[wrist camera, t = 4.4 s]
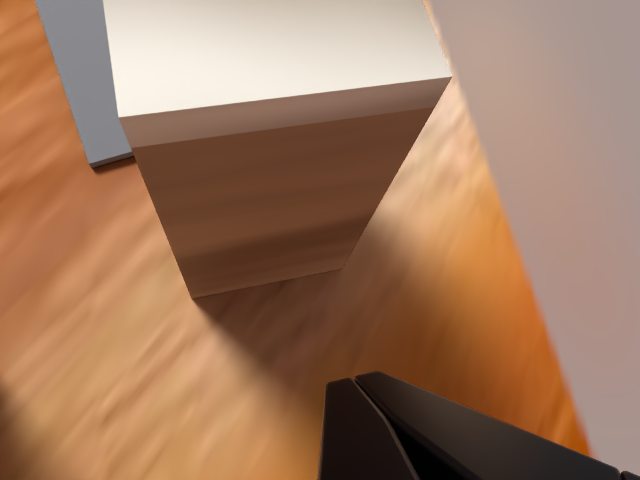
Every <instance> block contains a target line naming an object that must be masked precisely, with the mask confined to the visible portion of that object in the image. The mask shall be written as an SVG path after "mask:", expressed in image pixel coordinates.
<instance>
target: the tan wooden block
mask: <svg viewBox="0 0 640 480" xmlns="http://www.w3.org/2000/svg"><path fill="white" fill-rule="evenodd" d="M103 5H104V13H105V20H106V28H107V35H108V43H109V50H110V58H111V65H112V73H113V80H114V88H115V95H116V103H117V110H118V117H119V120H120V122H121V125H122V127H123V130H124V132H125V135H126V137H127V140H128V142H129V145H130V147H131V150H132V152H133V155H134V157H135V160H136V162H137V164H138V167H139V169H140V172H141V174H142V177H143V179H144V182H145V184H146V187H147V189H148V192H149V194H150V197H151V199H152V202H153V204H154V207H155V209H156V212H157V214H158V216H159V219H160V221H161V224H162V226H163V229H164V231H165V234H166V236H167V239H168V241H169V244H170V246H171V249H172V251H173V254H174V256H175V259H176V261H177V264H178V266H179V269H180V271H181V273H182V276H183V278H184V281H185V283H186V286H187V288H188V291H189V293H190V296H191V298H192V299H193V298H198V297H203V296H208V295H213V294H218V293H223V292H228V291H233V290H238V289H243V288H248V287H254V286H259V285H264V284H269V283H274V282H279V281H284V280H289V279H294V278H299V277H304V276H309V275H314V274H319V273H324V272H329V271H334V270H339V269H342V267H343V266H344V264H345V262H346V260H347V259H348V257H349V255H350V253H351V252H352V250H353V248H354V247H355V245H356V243H357V241H358V240H359V238H360V236H361V234H362V233H363V231H364V229H365V227H366V226H367V224H368V222H369V220H370V219H371V217H372V215H373V214H374V212H375V210H376V208H377V207H378V205H379V203H380V201H381V200H382V198H383V196H384V194H385V193H386V191H387V189H388V188H389V186H390V184H391V182H392V181H393V179H394V177H395V175H396V174H397V172H398V170H399V168H400V167H401V165H402V163H403V161H404V160H405V158H406V156H407V155H408V153H409V151H410V149H411V148H412V146H413V144H414V142H415V141H416V139H417V137H418V135H419V134H420V132H421V130H422V129H423V127H424V125H425V123H426V122H427V120H428V118H429V116H430V115H431V113H432V111H433V109H434V108H435V106H436V104H437V102H438V101H439V99H440V97H441V96H442V94H443V92H444V90H445V89H446V87H447V85H448V83H449V82H450V80H451V78H452V74H451V71H450V69H449V66H448V64H447V61H446V59H445V56H444V54H443V51H442V48H441V46H440V43H439V41H438V38H437V36H436V33H435V31H434V28H433V26H432V23H431V20H430V18H429V15H428V13H427V10H426V8H425V5H424V3H423V0H103Z"/></svg>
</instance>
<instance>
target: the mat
mask: <svg viewBox="0 0 640 480" xmlns="http://www.w3.org/2000/svg"><path fill="white" fill-rule="evenodd" d="M35 2H36V5H37V8H38V11H39V14H40V17H41V20H42V23H43V27H44V30H45V33H46V36H47V39H48V42H49V45H50V48H51V51H52V54H53V57H54V60H55V63H56V66H57V69H58V72H59V75H60V78H61V81H62V84H63V87H64V90H65V93H66V96H67V99H68V102H69V105H70V108H71V111H72V114H73V117H74V120H75V123H76V126H77V129H78V132H79V135H80V138H81V141H82V144H83V147H84V150H85V153H86V156H87V159H88V162H89V165H90V166H91V168H94V167H97V166H100V165H104V164H107V163H111V162H114V161H118V160H121V159H124V158H128V157H131V156H134V155H133V152H132V150H131V147H130V145H129V142H128V140H127V137H126V135H125V132H124V130H123V127H122V125H121V122H120V120H119V117H118V110H117V103H116V95H115V88H114V80H113V73H112V65H111V58H110V50H109V43H108V35H107V28H106V20H105V13H104V5H103V0H35Z"/></svg>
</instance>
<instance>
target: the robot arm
mask: <svg viewBox="0 0 640 480" xmlns="http://www.w3.org/2000/svg"><path fill="white" fill-rule="evenodd" d="M317 480H640V476H637V475H635V474H633V473H630V472H628V471H623V472H621V474H620V472H619V471H618V469H617V468H615V467H613V466H610V465H608V464H605V463H603V462H600V461H598V460H596V459H593V458H591V457H588V456H586V455H583V454H581V453H579V452H576V451H574V450H571V449H569V448H566V447H564V446H561V445H559V444H557V443H554V442H552V441H549V440H547V439H544V438H542V437H540V436H537V435H535V434H532V433H530V432H527V431H525V430H523V429H520V428H518V427H515V426H513V425H510V424H508V423H505V422H503V421H501V420H498V419H496V418H493V417H491V416H488V415H486V414H484V413H481V412H479V411H476V410H474V409H471V408H469V407H467V406H464V405H462V404H459V403H457V402H454V401H452V400H449V399H447V398H445V397H442V396H440V395H437V394H435V393H432V392H430V391H428V390H425V389H423V388H420V387H418V386H415V385H413V384H411V383H408V382H406V381H403V380H401V379H398V378H396V377H393V376H391V375H389V374H386V373H384V372H381V371H374V372H370V373H366V374H362V375H358V376H356V377H355V378H354V380H353V379H351V378H346V379H341V380H337V381H333V382H329V383H328V384H326V387H325V396H324V408H323V419H322V431H321V442H320V453H319V465H318V476H317Z"/></svg>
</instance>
